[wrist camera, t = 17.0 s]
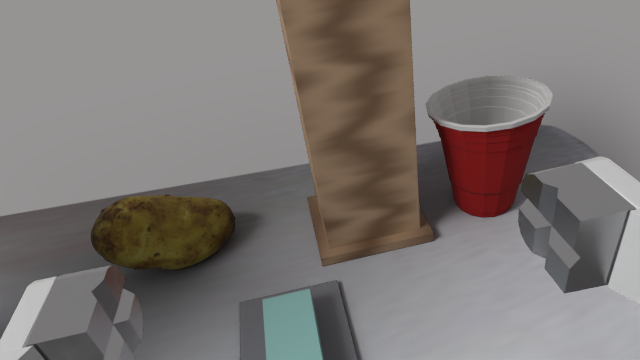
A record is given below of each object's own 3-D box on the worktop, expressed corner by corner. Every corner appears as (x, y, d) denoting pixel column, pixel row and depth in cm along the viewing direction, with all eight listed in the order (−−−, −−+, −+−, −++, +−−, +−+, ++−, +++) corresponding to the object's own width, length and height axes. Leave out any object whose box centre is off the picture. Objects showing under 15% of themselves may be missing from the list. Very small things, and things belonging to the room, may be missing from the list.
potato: (236, 276, 45) (212, 213, 40) (107, 297, 45) (69, 237, 41) (241, 221, 52) (221, 162, 47) (130, 240, 52) (99, 183, 48)
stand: (322, 266, 44) (259, -21, 29) (308, 204, 52) (254, -45, 38) (433, 240, 44) (427, -56, 30) (402, 183, 53) (385, -71, 38)
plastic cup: (456, 161, 55) (457, 64, 48) (553, 186, 48) (570, 79, 41) (409, 212, 48) (402, 110, 42) (513, 249, 42) (526, 135, 35)
